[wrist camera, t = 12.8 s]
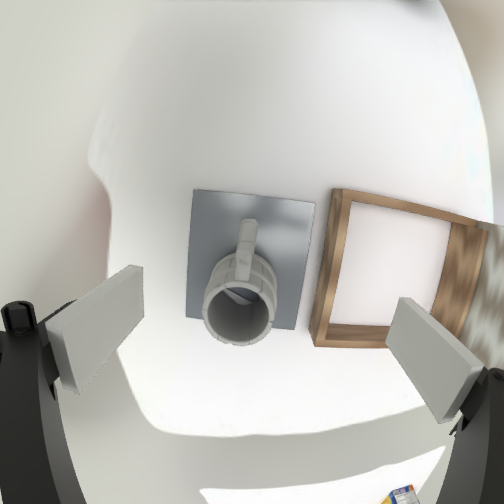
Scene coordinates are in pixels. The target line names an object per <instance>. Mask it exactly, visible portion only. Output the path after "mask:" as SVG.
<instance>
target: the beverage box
mask: <svg viewBox="0 0 504 504" xmlns="http://www.w3.org/2000/svg"><path fill="white" fill-rule="evenodd" d="M381 504H420V503H419V501H418V498H417V496H416V493H415V491H414V488H413V486H412V485H409V486H406V487H403V488H399V489H396V490H393V491H392V492H391V493H390V494H389V495H388V496H387V498H386V499H385V500H384V501H383V502H382V503H381Z"/></svg>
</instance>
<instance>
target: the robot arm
mask: <svg viewBox="0 0 504 504" xmlns="http://www.w3.org/2000/svg"><path fill="white" fill-rule="evenodd" d="M1 314H2V318H3V322H4V326H5V329H6V332H4V331H0V489H1V495H2V501H3V504H87V503H86V501H85V498H84V496H83V493H82V491H81V488H80V485H79V482H78V479H77V476H76V473H75V470H74V467H73V464H72V460H71V457H70V454H69V450H68V446H67V442H66V438H65V434H64V429H63V425H62V420H61V415H60V409H59V403H58V397H57V390H56V386H55V384H54V381H55V380H56V379H57V378H58V377H60V380H61V383H62V385H63V388H64V389H66V390H69V391H71V392H73V393H75V394H78V395H80V394H81V392H82V391H83V390H84V389H85V388H86V386H87V385H88V384H89V383H90V381H91V380H92V379H93V378H94V376H95V375H96V374H97V373H98V371H99V370H100V369H101V368H102V366H103V365H104V364H105V363H106V361H107V360H108V359H109V358H110V356H111V355H112V354H113V353H114V352H115V350H116V349H117V348H118V347H119V346H120V344H121V343H122V342H123V341H124V340H125V338H126V337H127V336H128V335H129V334H130V333H131V331H132V330H133V329H134V328H135V327H136V325H137V324H138V323H139V322H140V321H141V320H142V318H143V317H144V301H143V267H140V266H134V265H129V266H127V267H126V268H124V269H122V270H121V271H119V272H118V273H116V274H115V275H113V276H112V277H110V278H109V279H107V280H106V281H104V282H103V283H101V284H100V285H98V286H97V287H95V288H94V289H92V290H91V291H89V292H88V293H86V294H85V295H83V296H82V297H81V298H79V299H77V300H74V301H71V302H68V303H66V304H65V305H63V306H62V307H61V308H60V309H58V310H56V311H55V312H54V313H52V314H51V315H49V316H48V317H46V318H45V319H43V320H42V321H41V322H39V323H38V324H37V321H36V316H35V312H34V307H33V305H32V304H31V303H30V302H27V301H15V302H11V303H8V304H6V305H5V306H4V307H3V308H2V309H1ZM385 343H386V345H387V346H388V348H389V349H390V351H391V352H392V353H393V355H394V356H395V358H396V359H397V361H398V362H399V364H400V365H401V367H402V368H403V370H404V371H405V373H406V374H407V376H408V377H409V379H410V380H411V382H412V383H413V385H414V386H415V388H416V389H417V391H418V392H419V394H420V395H421V397H422V398H423V400H424V402H425V403H426V405H427V406H428V407H429V409H430V411H431V412H432V414H433V416H434V417H435V419H436V421H437V422H438V424H442V423H445V422H449V421H452V420H453V418H454V417H455V415H456V414H457V412H458V411H459V409H460V411H461V412H462V414H463V415H462V416H461V418H460V419H459V421H458V422H457V423H456V425H455V426H454V428H453V429H452V430H451V432H450V434H449V435H452V433H453V432H454V431H456V434H455V435H454V437H455V441H454V445H453V450H452V454H451V458H450V462H449V465H448V469H447V473H446V476H445V479H444V482H443V485H442V488H441V491H440V494H439V497H438V500H437V502H436V504H504V370H502V369H499V368H491V369H489V370H488V369H487V368H486V367H485V366H484V364H483V363H482V362H481V361H480V360H479V359H478V358H477V357H476V356H475V355H474V354H473V353H472V352H471V351H470V350H468V349H467V348H466V347H465V346H464V345H463V344H462V343H461V342H460V341H459V340H458V339H457V338H456V337H455V336H454V335H452V334H451V333H450V332H449V331H448V330H447V329H446V328H445V327H444V326H442V325H441V324H440V323H439V322H438V321H437V320H436V319H435V318H433V317H432V316H431V315H430V314H429V313H428V312H427V311H425V310H424V309H423V308H422V307H421V306H420V305H419V304H417V303H416V302H415V301H414V300H413V299H411V298H404V297H399V301H398V304H397V308H396V311H395V314H394V317H393V320H392V323H391V327H390V330H389V332H388V335H387V338H386V341H385Z"/></svg>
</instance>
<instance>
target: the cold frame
mask: <svg viewBox="0 0 504 504" xmlns="http://www.w3.org/2000/svg"><path fill="white" fill-rule="evenodd" d="M351 201H357V202H362V203H368V204H373V205H378V206H383V207H388V208H393V209H398V210H403V211H407V212H412V213H416V214H421V215H425V216H429V217H433V218H438V219H442V220H446V221H450V222H452V226H451V232H450V237H449V243H448V248H447V253H446V258H445V262H444V267H443V271H442V275H441V279H440V283H439V287H438V290H437V294H436V298H435V301H434V304H433V308H432V311H431V314H430V315H431V316H432V317H433V318H435V319H436V320H437V321H438V322H439V323H440V324H441V325H442V326H444V327H445V328H446V329H447V330H448V331H449V332H450V333H451V334H452V335H454V336H455V337H456V338H457V339H458V340H459V341H460V342H461V343H462V344H463V345H464V346H465V347H466V348H467V349H468V350H470V351H471V352H472V353H473V354H474V355H475V356H476V357H477V358H478V359H479V360H480V361H481V362H482V363H483V364H484V366H485V367H486V368H487V369H488V370H489V369H491V368H499V369H502V370H504V226H500V225H495V224H491V223H487V222H482V221H477V220H474V219H471V218H467V217H464V216H461V215H457V214H454V213H450V212H446V211H443V210H439V209H435V208H431V207H427V206H423V205H419V204H415V203H411V202H407V201H402V200H398V199H393V198H389V197H384V196H379V195H375V194H370V193H365V192H359V191H354V190H349V189H333V190H332V198H331V205H330V213H329V220H328V227H327V233H326V240H325V246H324V252H323V258H322V264H321V270H320V275H319V281H318V286H317V291H316V296H315V301H314V306H313V311H312V316H311V320H310V325H309V332H310V335H311V338H312V341H313V344H314V347H332V348H388V346H387V345H386V343H385V341H386V338H387V335H388V332H389V330H390V327H391V326H364V325H343V324H329V319H330V315H331V311H332V306H333V302H334V297H335V293H336V288H337V283H338V278H339V273H340V268H341V263H342V257H343V252H344V246H345V240H346V234H347V228H348V221H349V214H350V207H351Z"/></svg>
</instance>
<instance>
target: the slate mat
mask: <svg viewBox="0 0 504 504" xmlns="http://www.w3.org/2000/svg"><path fill="white" fill-rule="evenodd" d="M314 209H315V203H311V202H304V201H296V200H289V199H281V198H274V197H265V196H257V195H248V194H239V193H229V192H219V191H208V190H196V189H194V191H193V201H192V212H191V224H190V238H189V253H188V270H187V293H186V317H190V318H196V319H203V316H202V309H203V308H202V306H203V303H204V294H205V290H206V288H207V285H208V283H209V280H210V277H211V274H212V271H213V269H214V268H215V265H216V264H217V263H218V262H219V261H220V260H221V259H223V258H224V257H226V256H228V255H230V254H232V253H236V250H237V243H238V238H239V232H240V226H241V222H242V221H243V220H244V219H255V220H256V221H257V223H258V231H257V236H256V242H255V248H254V254H257V255H259V256H260V257H262V258H263V259H265V260H266V261H267V262H268V263H269V264H270V265H271V267H272V268H273V270H274V272H275V274H276V276H277V278H276V279H277V291H276V292H277V294H276V295H277V308H276V312H275V317H274V320H273V324H272V328H277V329H288V330H294V329H295V324H296V319H297V314H298V308H299V303H300V297H301V292H302V286H303V281H304V275H305V269H306V263H307V256H308V250H309V244H310V237H311V230H312V223H313V216H314ZM226 289H228V290H230V291H231V292H233V293H235V294H237V295H239V296H241V297H243V298H245V299H247V300H249V301H250V302H252V303H253V302H255V301H258V300H259V299H260V296H259V294H258V293H256V292H254V291H252V290H250V289H247V288H242V287H231V288H226ZM222 291H223V293H224V294H225V295H226V296H227V297H228V299H231V300H232V301H234V300H233V299H232V298H231V297H230V296H229V295H228V294H227V293H226V292H225V291H224V290H222ZM234 302H235V301H234ZM203 320H204V319H203Z"/></svg>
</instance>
